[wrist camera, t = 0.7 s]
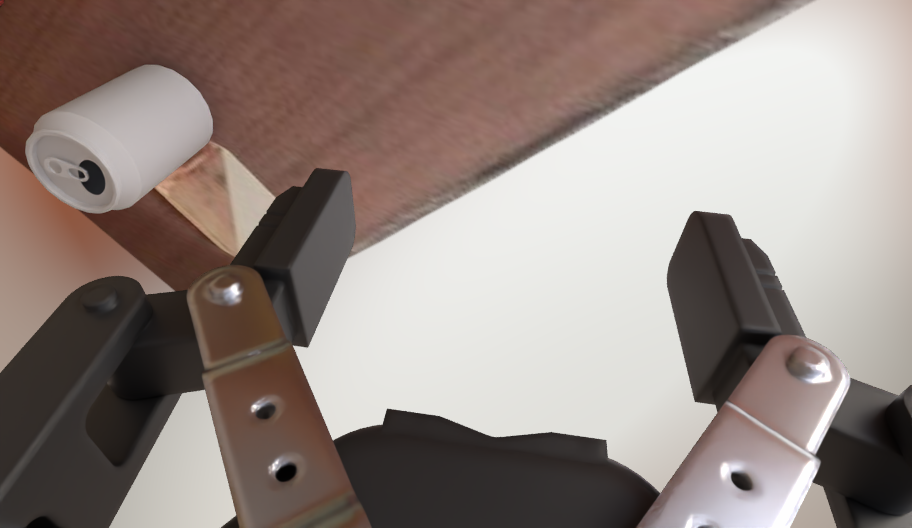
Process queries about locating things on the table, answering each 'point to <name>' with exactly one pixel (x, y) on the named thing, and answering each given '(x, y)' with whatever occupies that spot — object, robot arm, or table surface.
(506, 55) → the table surface
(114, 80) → the can
